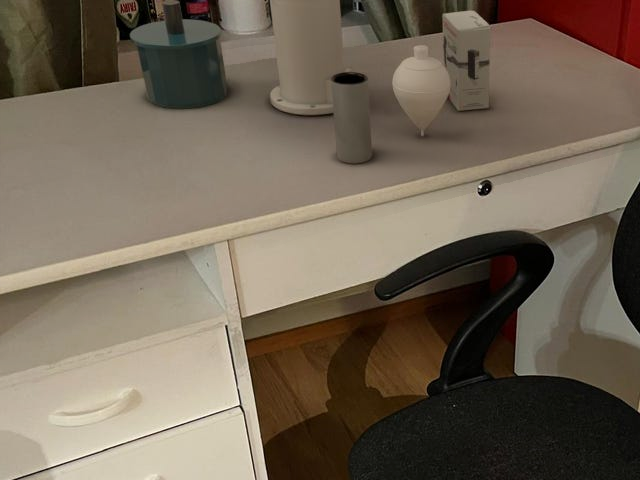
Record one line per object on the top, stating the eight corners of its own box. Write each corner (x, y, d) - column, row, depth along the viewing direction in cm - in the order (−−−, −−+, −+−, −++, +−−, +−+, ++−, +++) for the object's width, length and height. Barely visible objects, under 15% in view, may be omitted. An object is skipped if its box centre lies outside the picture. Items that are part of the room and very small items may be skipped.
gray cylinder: (376, 151, 113) (372, 73, 107) (366, 165, 110) (361, 85, 104) (343, 147, 114) (337, 70, 108) (332, 161, 111) (325, 82, 104)
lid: (239, 34, 126) (234, -3, 123) (185, 59, 117) (178, 19, 114) (169, 23, 130) (162, -14, 127) (112, 46, 121) (103, 7, 117)
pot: (242, 88, 131) (234, 30, 126) (196, 113, 122) (185, 53, 117) (180, 77, 134) (170, 20, 129) (131, 100, 126) (117, 41, 120)
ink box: (441, 91, 132) (441, 11, 125) (472, 89, 133) (474, 9, 126) (457, 111, 125) (458, 28, 118) (489, 109, 127) (492, 26, 119)
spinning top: (427, 120, 122) (425, 34, 115) (461, 137, 118) (463, 48, 111) (383, 133, 118) (379, 44, 111) (417, 152, 114) (415, 60, 106)
